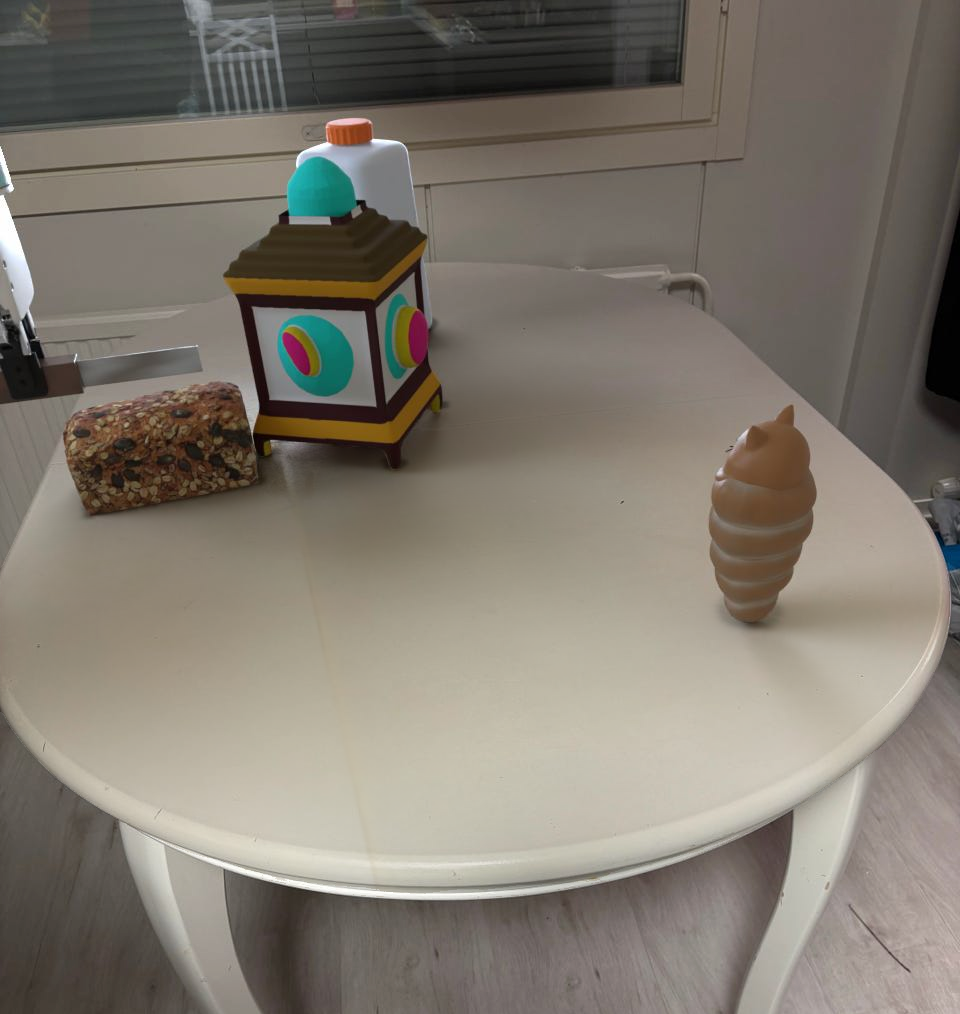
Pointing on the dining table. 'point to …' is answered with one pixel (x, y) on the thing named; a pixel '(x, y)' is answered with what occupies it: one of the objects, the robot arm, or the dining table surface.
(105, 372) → the knife
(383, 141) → the plastic bottle
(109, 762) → the dining table surface
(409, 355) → the decorative lantern
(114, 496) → the bread
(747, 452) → the cat ice cream
